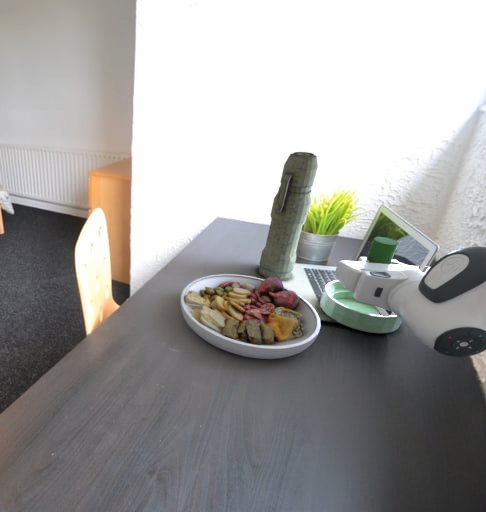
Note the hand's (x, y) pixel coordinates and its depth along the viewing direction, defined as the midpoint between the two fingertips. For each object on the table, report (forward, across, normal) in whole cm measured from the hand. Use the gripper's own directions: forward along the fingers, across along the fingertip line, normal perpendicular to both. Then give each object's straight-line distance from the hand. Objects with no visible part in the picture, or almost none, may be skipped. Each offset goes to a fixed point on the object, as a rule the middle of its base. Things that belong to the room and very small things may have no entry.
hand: (375, 260), depth 85 cm
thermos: (+17, +15, +15) cm, 27 cm away
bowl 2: (-1, 0, +14) cm, 14 cm away
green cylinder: (-1, 0, +6) cm, 7 cm away
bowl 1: (-10, +28, +15) cm, 33 cm away
